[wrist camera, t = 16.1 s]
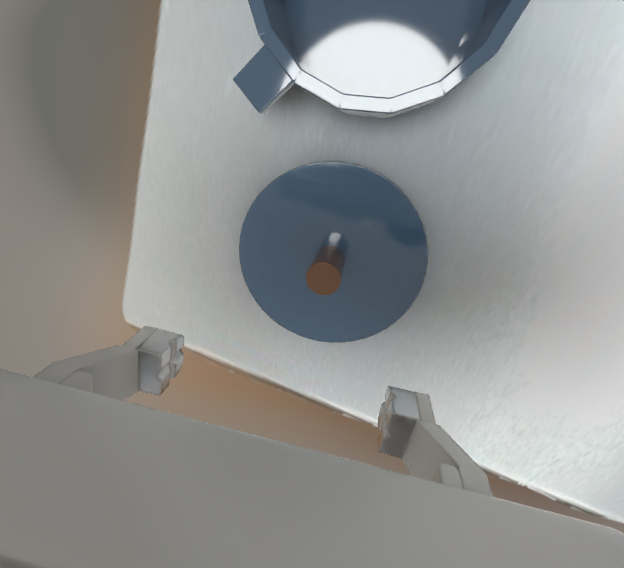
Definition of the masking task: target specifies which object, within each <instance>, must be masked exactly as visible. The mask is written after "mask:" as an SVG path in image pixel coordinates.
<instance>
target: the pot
mask: <svg viewBox="0 0 624 568" xmlns="http://www.w3.org/2000/svg"><path fill="white" fill-rule="evenodd" d="M248 2H249V5H250V8H251V12H252V15H253V18H254V22H255V25H256V28H257V31H258V35H259V36H260V39H261V40H262V41H263V43H264V44H265V45H264V46H263V47H262V48H261V49H260V50H259V52H258V53H257V54H256V55H255V56H254V57H253V58H252V59H251V60H250V61H249V62H248V63H247V65H246V66H245V67H244V68H243V69H242V70H241V71H240V72H239V73H238V74H237V75H236V76H235V77H234V79H233V80H234V82H235V83H236V84H237V86H238V87H239V88H240V89H241V91H242V92H243V93H244V95H245V96H246V97H247V98H248V100H249V101H250V102H251V103H252V105H253V106H254V107H255V109H256V110H257V111H258V112H259V113H261V114H265V113H266V112H267V111H268V110H269V109H270V108H271V107H272V106H273V105H274V104H275V103H276V102H277V101H278V100H279V99H280V98H281V97H282V96H283V95H284V94H285V93H286V92H287V91H288V90H289V89H290V88H291V87H292V86H293V85H294V84H296V85H298V86H300V87H301V88H303V89H305V90H306V91H308V92H310V93H311V94H313V95H315V96H316V97H318V98H320V99H321V100H323V101H325V102H327V103H328V104H330V105H332V106H333V107H335V108H337V109H339V110H340V111H342V112H344V113H345V114H348V115H358V116H367V117H379V118H390V117H393V116H396V115H399V114H402V113H405V112H408V111H411V110H414V109H417V108H420V107H423V106H426V105H428V104H430V103H432V102H434V101H436V100H438V99H440V98H442V97H444V96H445V95H447V94H448V93H449V92H451V91H452V90H453V89H454V88H456V87H457V86H458V85H459V84H460V83H462V82H463V81H464V80H465V79H467V78H468V77H469V76H470V75H471V74H473V73H474V72H475V71H476V70H478V69H479V68H480V67H481V66H482V65H484V64H485V63H486V62H487V61H489V60H490V59H491V58H492V57H493V56H494V55H495V54H496V53H497V52H498V50H499V49H500V47H501V46H502V44H503V43H504V41H505V39H506V38H507V36H508V35H509V33H510V32H511V30H512V28H513V27H514V25H515V24H516V22H517V21H518V19H519V17H520V16H521V14H522V13H523V11H524V10H525V8H526V6H527V5H528V3H529V2H530V0H248Z"/></svg>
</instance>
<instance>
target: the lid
mask: <svg viewBox="0 0 624 568" xmlns="http://www.w3.org/2000/svg"><path fill="white" fill-rule="evenodd" d="M239 254H240V263H241V269H242V273H243V276H244V279H245V282H246V284H247V286H248V288H249V291H250V293H251V294H252V296H253V297H254V299H255V301H256V302H257V303H258V304H259V306H260V307H261V308H262V310H263V311H264V312H265V313H266V314H267V315H268V316H269V317H270V318H272V319H273V320H274V321H275V322H277V323H278V324H279V325H281V326H282V327H284V328H286V329H287V330H289V331H291V332H293V333H295V334H297V335H300V336H303V337H306V338H309V339H313V340H317V341H323V342H349V341H356V340H360V339H364V338H367V337H369V336H372V335H375V334H377V333H379V332H381V331H383V330H384V329H386V328H388V327H389V326H390V325H392V324H393V323H395V322H396V321H397V320H398V319H399V318H400V317H401V316H402V315H404V313H405V312H406V311H407V310H408V309H409V307H410V306H411V305H412V303H413V302H414V300H415V299H416V297H417V295H418V293H419V291H420V289H421V287H422V284H423V281H424V277H425V274H426V268H427V254H428V249H427V242H426V236H425V232H424V229H423V225H422V223H421V220H420V218H419V216H418V214H417V212H416V210H415V209H414V207H413V205H412V204H411V202H410V201H409V199H408V198H407V197H406V196H405V195H404V193H403V192H402V191H401V190H400V189H399V188H398V187H397V186H395V185H394V184H393V183H392V182H391V181H389V180H388V179H386V178H385V177H383V176H382V175H380V174H379V173H376V172H374V171H372V170H370V169H368V168H365V167H362V166H359V165H356V164H351V163H346V162H335V161H326V162H316V163H311V164H307V165H303V166H300V167H298V168H295V169H293V170H290V171H288V172H287V173H285V174H283V175H281V176H280V177H278V178H277V179H275V180H274V181H273V182H271V183H270V184H269V185H268V186H267V187H266V188H265V189H264V190H263V191H262V192H261V193H260V194H259V195H258V197H257V198H256V199H255V201H254V202H253V203H252V205H251V207H250V209H249V211H248V213H247V215H246V217H245V220H244V223H243V226H242V230H241V235H240V244H239Z"/></svg>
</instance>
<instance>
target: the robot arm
mask: <svg viewBox="0 0 624 568" xmlns="http://www.w3.org/2000/svg"><path fill="white" fill-rule="evenodd" d="M183 346H184V336H183V335H180V334H177V333H173V332H169V331H166V330H162V329H158V328H154V327H150V326H145V327H143V328H142V329H141V330H140V331H139V332H137V333H136V334H135V335H134V336H133V337H131V338H130V339H129V340H128V341H127V342H125V343H124V344H123V345H122V346H119V345H116V346H113V347H109V348H105V349H101V350H98V351H94V352H91V353H86V354H83V355H79V356H75V357H72V358H68V359H64V360H60V361H57V362H54V363H52V364H50V365H49V366H48V367H46V368H45V369H43V370H42V371H41V372H39V373H38V374H36V375H35V376H34V377H30V376H26V375H22V374H18V373H14V372H10V371H7V370H2V369H0V568H624V533H622V532H620V531H618V530H616V529H613V528H610V527H607V526H603V525H599V524H595V523H592V522H588V521H584V520H580V519H576V518H572V517H569V516H565V515H560V514H557V513H552V512H549V511H545V510H541V509H537V508H533V507H530V506H526V505H522V504H518V503H514V502H510V501H506V500H502V499H499V498H495V497H494V496H493V493H492V490H491V487H490V484H489V481H488V478H487V475H486V473H485V472H484V471H483V470H482V469H481V468H480V467H479V466H478V465H477V464H476V463H475V462H474V461H473V460H472V459H471V458H470V457H469V456H468V454H467V453H466V452H465V451H464V450H463V449H462V448H461V447H460V446H459V445H458V444H457V443H456V442H455V441H454V440H453V439H452V438H451V437H450V436H449V435H448V434H447V433H446V432H445V431H444V430H443V429H442V427H441V426H439V425H436V423H435V419H434V414H433V410H432V406H431V401H430V397H429V395H428V394H423V393H419V392H412V391H408V390H404V389H400V388H395V387H391V386H388V388H387V390H386V393H385V402H384V403H382V405H381V409H380V413H379V418H378V429H379V431H380V434H379V437H378V445H379V452H381V453H384V454H388V455H391V456H395V457H398V458H402V461H403V463H404V464H405V466H406V468H407V469H408V471H409V472H410V474H411V476H410V475H406V474H403V473H399V472H395V471H391V470H388V469H384V468H380V467H376V466H372V465H368V464H364V463H360V462H357V461H353V460H349V459H345V458H341V457H338V456H334V455H330V454H326V453H322V452H318V451H315V450H310V449H307V448H303V447H299V446H295V445H291V444H287V443H283V442H280V441H276V440H272V439H268V438H264V437H260V436H257V435H253V434H249V433H245V432H241V431H238V430H234V429H230V428H226V427H222V426H218V425H214V424H211V423H206V422H203V421H199V420H195V419H191V418H188V417H184V416H179V415H176V414H172V413H168V412H164V411H160V410H156V409H153V408H149V407H145V406H141V405H138V404H133V403H130V402H126V401H122V400H123V399H125V398H127V397H129V396H131V395H133V394H135V393H137V392H138V391H142V392H146V393H151V394H155V395H161V394H162V393H163V392H164V390H165V389H166V388H167V387H168V385H169V380H170V379H172V378H174V377H176V375H177V374H178V373H179V371H180V369H181V366H182V363H183V356H184V354H183V352H182V351H181V348H182V347H183Z"/></svg>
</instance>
